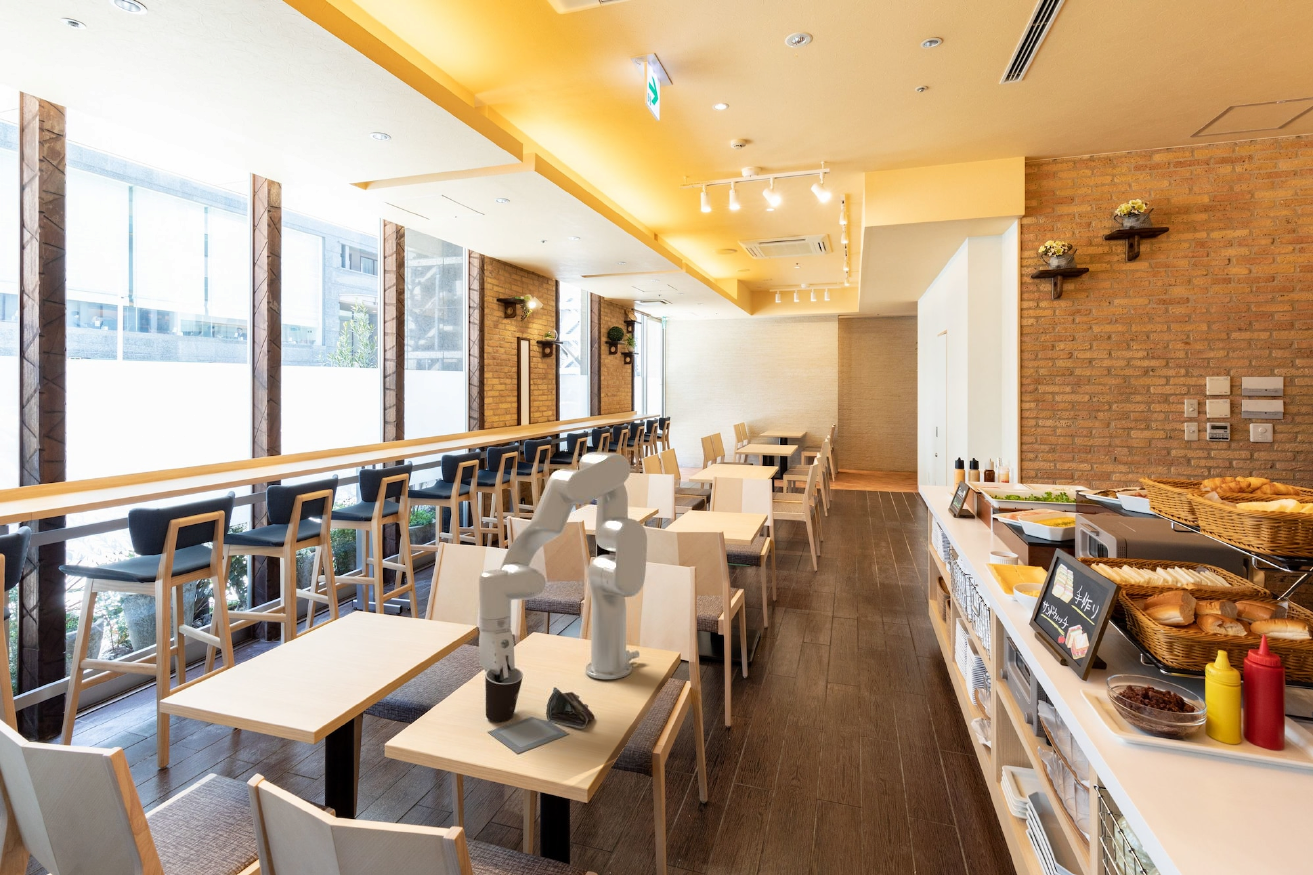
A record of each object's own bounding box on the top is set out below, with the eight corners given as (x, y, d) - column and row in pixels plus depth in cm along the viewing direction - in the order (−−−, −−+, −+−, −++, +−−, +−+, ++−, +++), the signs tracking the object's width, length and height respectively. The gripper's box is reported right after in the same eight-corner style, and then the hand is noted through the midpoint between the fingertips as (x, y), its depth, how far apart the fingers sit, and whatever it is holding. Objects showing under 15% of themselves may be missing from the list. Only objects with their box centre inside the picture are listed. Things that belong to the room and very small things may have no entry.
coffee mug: (503, 729, 145) (508, 688, 143) (473, 716, 148) (477, 676, 147) (532, 706, 155) (537, 668, 154) (503, 695, 158) (507, 657, 157)
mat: (537, 714, 151) (537, 714, 151) (569, 734, 142) (569, 733, 142) (487, 732, 142) (487, 731, 142) (517, 754, 133) (517, 753, 133)
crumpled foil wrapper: (607, 718, 148) (582, 675, 154) (589, 722, 142) (564, 676, 148) (580, 744, 149) (557, 700, 156) (562, 749, 144) (538, 702, 150)
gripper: (525, 626, 150) (525, 704, 150) (494, 613, 161) (494, 685, 161) (495, 633, 145) (495, 713, 145) (466, 618, 156) (466, 693, 156)
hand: (495, 698), depth 153 cm, fingers closed
